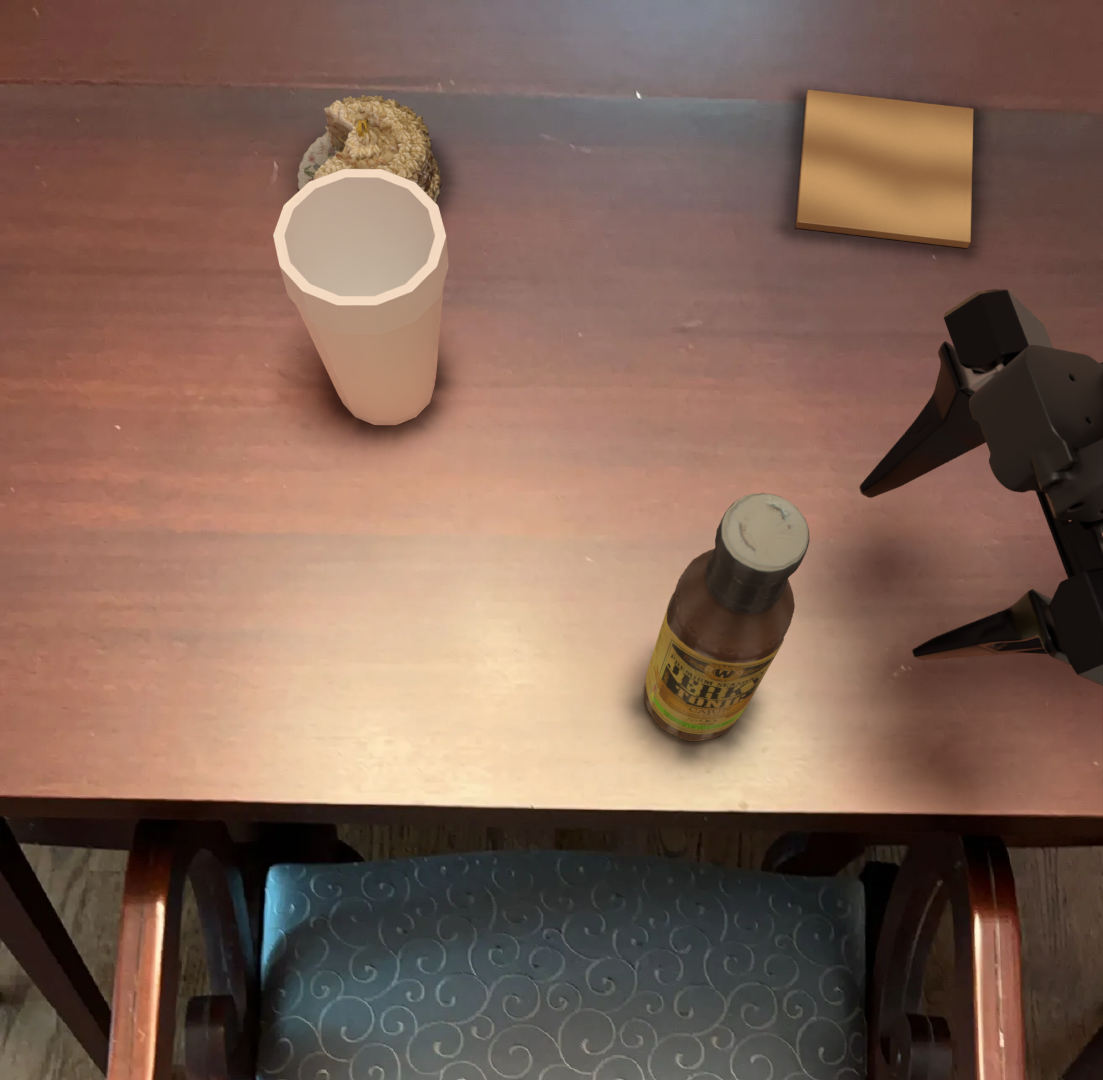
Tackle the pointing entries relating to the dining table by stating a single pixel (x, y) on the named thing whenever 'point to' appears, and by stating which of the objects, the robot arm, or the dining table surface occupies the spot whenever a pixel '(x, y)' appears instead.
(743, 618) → the sauce bottle
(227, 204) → the dining table surface
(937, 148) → the cork mat
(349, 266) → the foam cup
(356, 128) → the cake
